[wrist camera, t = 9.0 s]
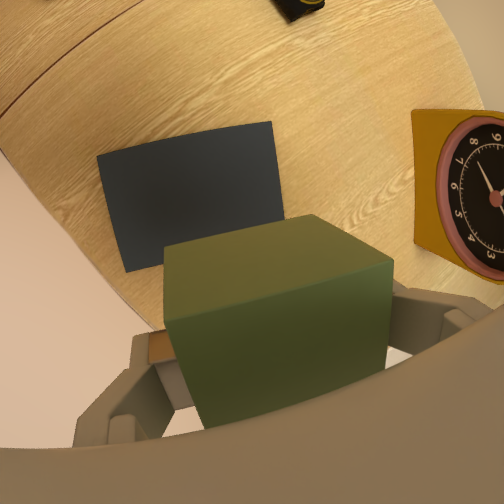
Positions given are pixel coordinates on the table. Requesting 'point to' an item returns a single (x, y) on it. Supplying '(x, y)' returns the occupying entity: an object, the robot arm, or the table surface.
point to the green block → (275, 315)
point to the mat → (190, 189)
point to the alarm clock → (461, 188)
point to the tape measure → (299, 7)
